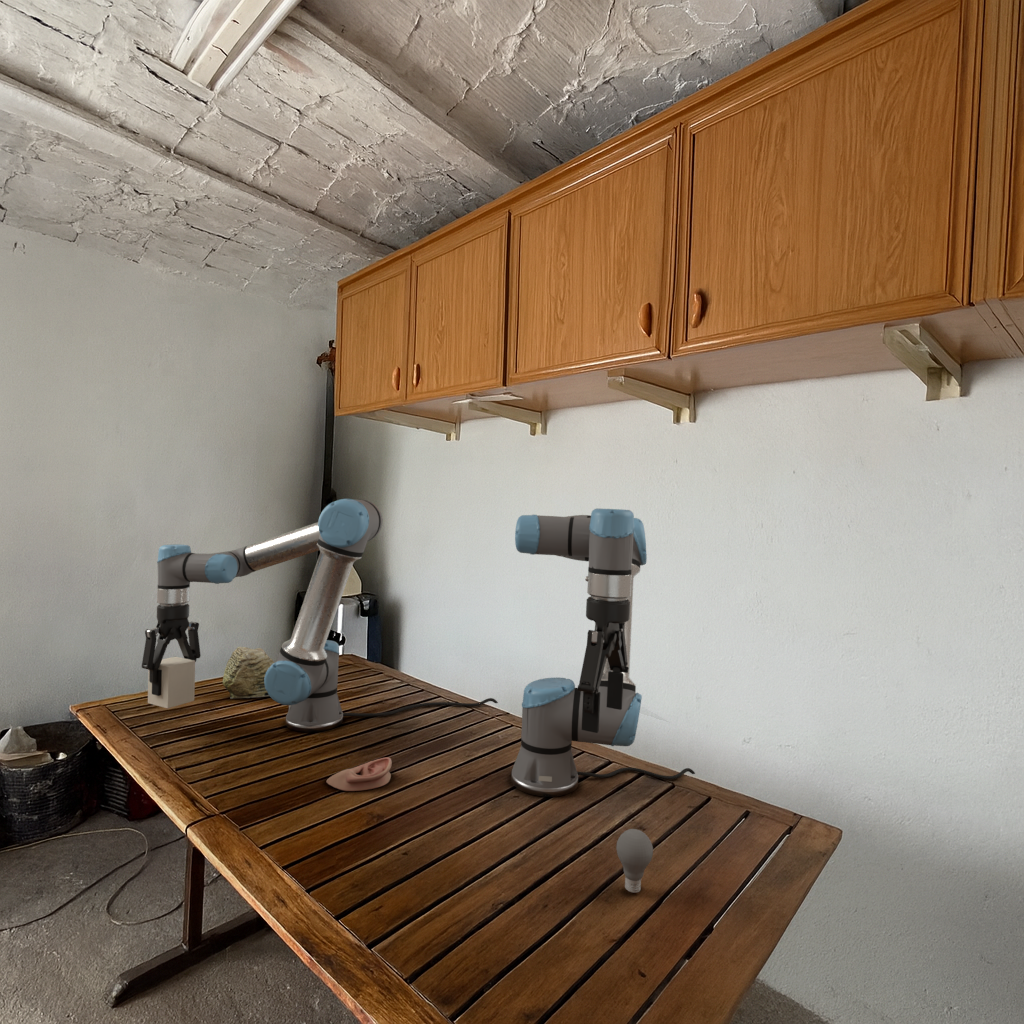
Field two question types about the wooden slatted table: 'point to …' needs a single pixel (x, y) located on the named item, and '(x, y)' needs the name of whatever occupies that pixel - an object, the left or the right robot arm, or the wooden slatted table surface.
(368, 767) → the anatomical model
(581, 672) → the right robot arm
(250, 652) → the fossil
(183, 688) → the brick
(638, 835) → the light bulb
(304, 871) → the wooden slatted table surface
